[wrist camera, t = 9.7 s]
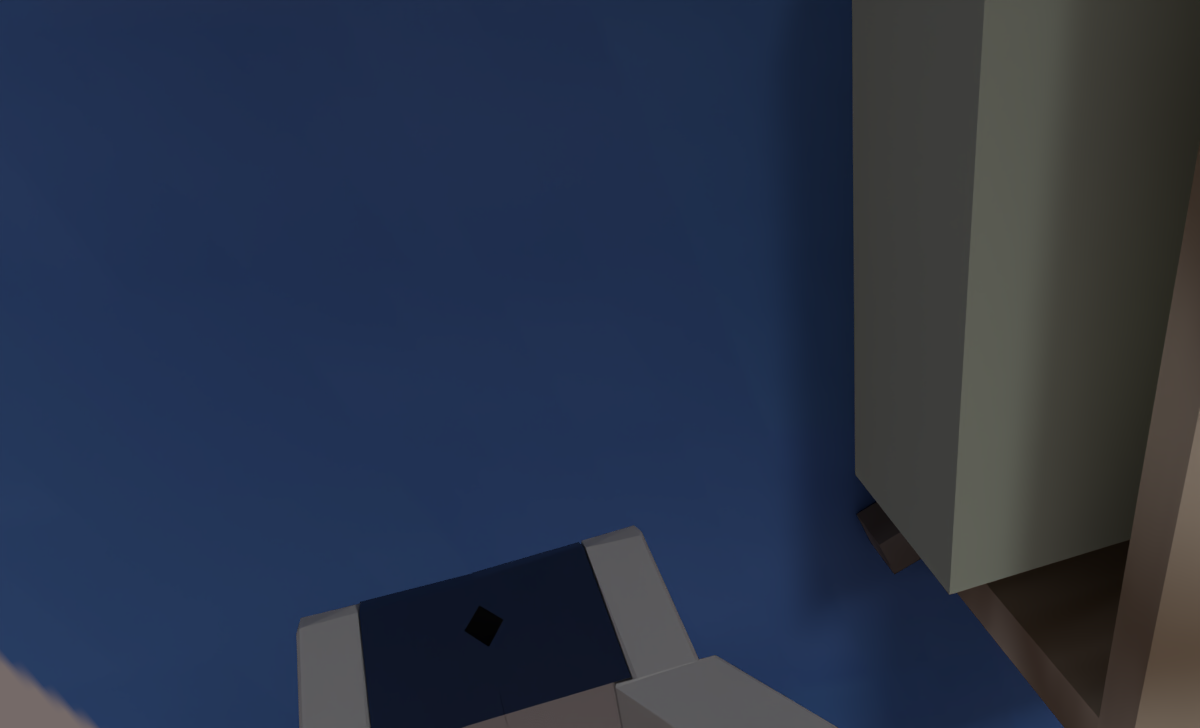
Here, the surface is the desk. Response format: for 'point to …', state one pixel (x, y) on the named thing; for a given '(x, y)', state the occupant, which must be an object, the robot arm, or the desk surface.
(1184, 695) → the low shelf
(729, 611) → the desk surface
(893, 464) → the case
